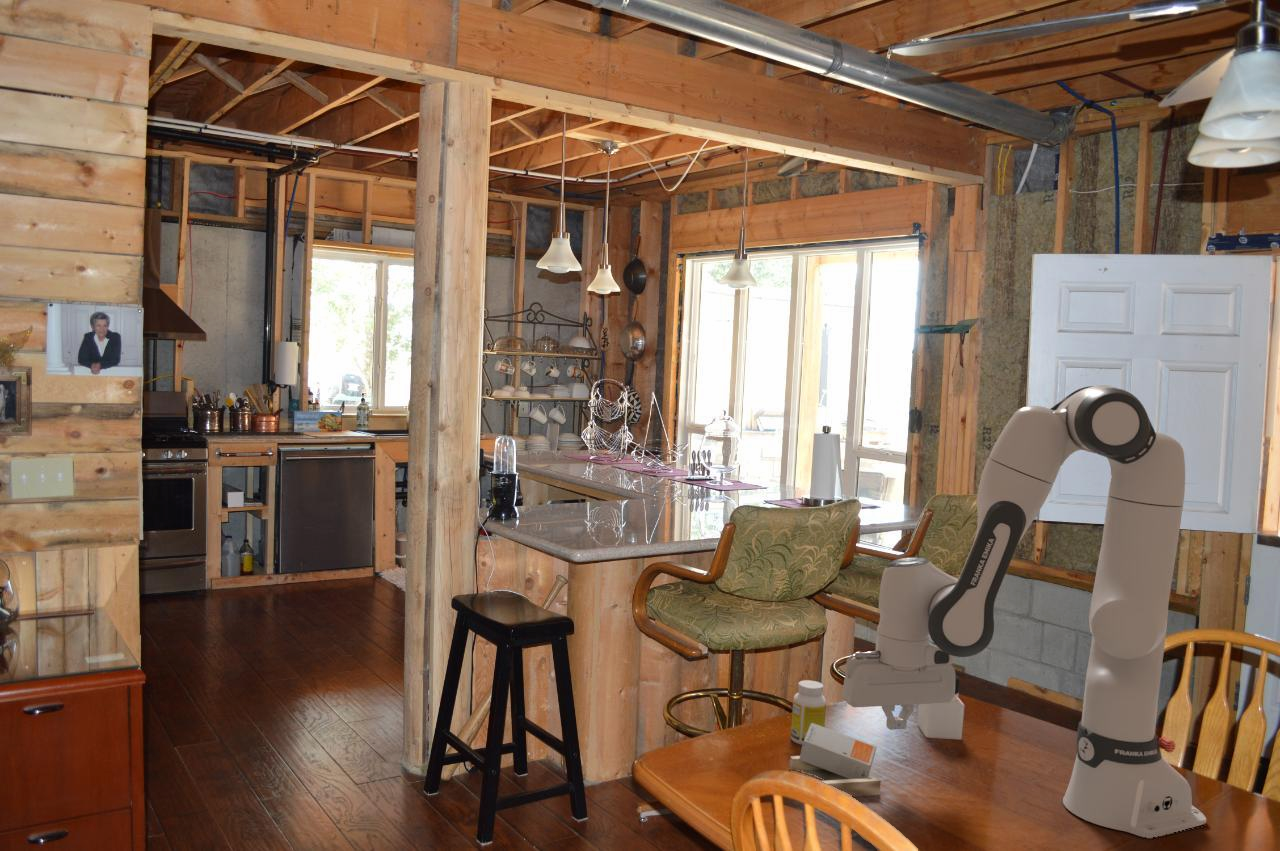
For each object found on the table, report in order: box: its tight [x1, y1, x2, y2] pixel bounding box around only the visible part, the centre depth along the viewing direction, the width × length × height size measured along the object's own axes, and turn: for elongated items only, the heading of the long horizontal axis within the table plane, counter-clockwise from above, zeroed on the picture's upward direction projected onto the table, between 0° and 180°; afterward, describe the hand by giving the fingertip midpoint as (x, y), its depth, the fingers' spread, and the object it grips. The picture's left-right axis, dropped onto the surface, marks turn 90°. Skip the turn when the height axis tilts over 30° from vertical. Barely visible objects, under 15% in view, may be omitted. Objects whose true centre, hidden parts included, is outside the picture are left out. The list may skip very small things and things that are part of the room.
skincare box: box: [799, 723, 877, 779], centre depth 179 cm, size 6×4×12 cm
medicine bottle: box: [916, 674, 966, 741], centre depth 203 cm, size 7×7×12 cm
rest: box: [788, 755, 881, 798], centre depth 176 cm, size 12×11×2 cm
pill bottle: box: [790, 679, 827, 746], centre depth 194 cm, size 6×6×11 cm
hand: (896, 728), depth 178 cm, fingers closed
